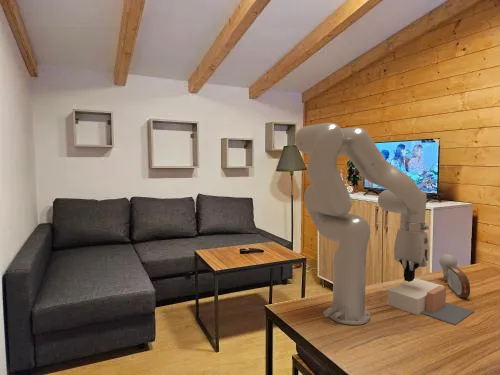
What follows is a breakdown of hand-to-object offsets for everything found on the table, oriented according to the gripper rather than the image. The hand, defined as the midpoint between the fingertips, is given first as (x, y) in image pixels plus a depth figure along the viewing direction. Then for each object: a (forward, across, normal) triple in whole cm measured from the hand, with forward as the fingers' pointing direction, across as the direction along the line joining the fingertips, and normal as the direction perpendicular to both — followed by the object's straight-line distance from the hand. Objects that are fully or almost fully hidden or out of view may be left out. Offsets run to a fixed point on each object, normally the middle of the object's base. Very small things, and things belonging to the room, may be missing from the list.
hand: (408, 280), depth 117 cm
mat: (+7, -12, -1) cm, 14 cm away
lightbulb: (+6, 0, -30) cm, 31 cm away
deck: (+7, -2, -1) cm, 8 cm away
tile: (+4, -8, -1) cm, 9 cm away
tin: (+7, -7, -21) cm, 23 cm away
